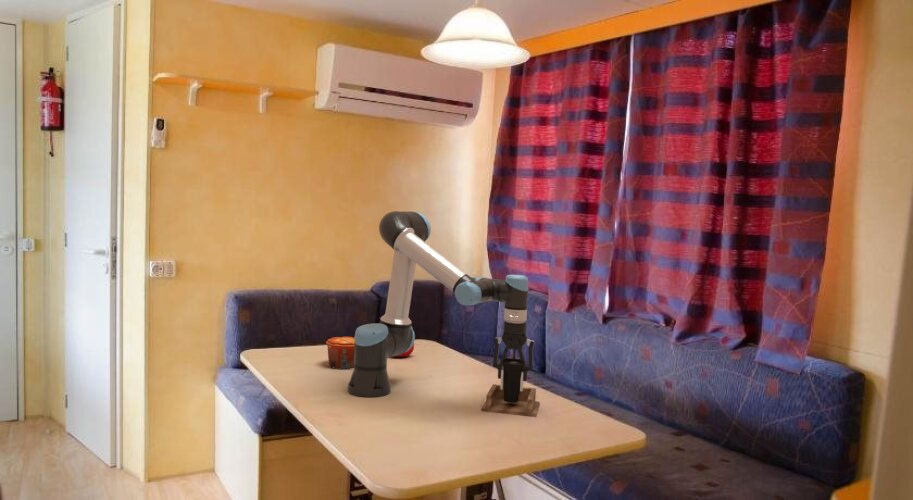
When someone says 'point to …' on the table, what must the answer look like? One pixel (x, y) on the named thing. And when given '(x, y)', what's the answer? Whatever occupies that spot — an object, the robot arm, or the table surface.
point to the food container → (341, 352)
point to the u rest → (522, 407)
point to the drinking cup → (512, 378)
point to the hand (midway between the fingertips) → (511, 389)
